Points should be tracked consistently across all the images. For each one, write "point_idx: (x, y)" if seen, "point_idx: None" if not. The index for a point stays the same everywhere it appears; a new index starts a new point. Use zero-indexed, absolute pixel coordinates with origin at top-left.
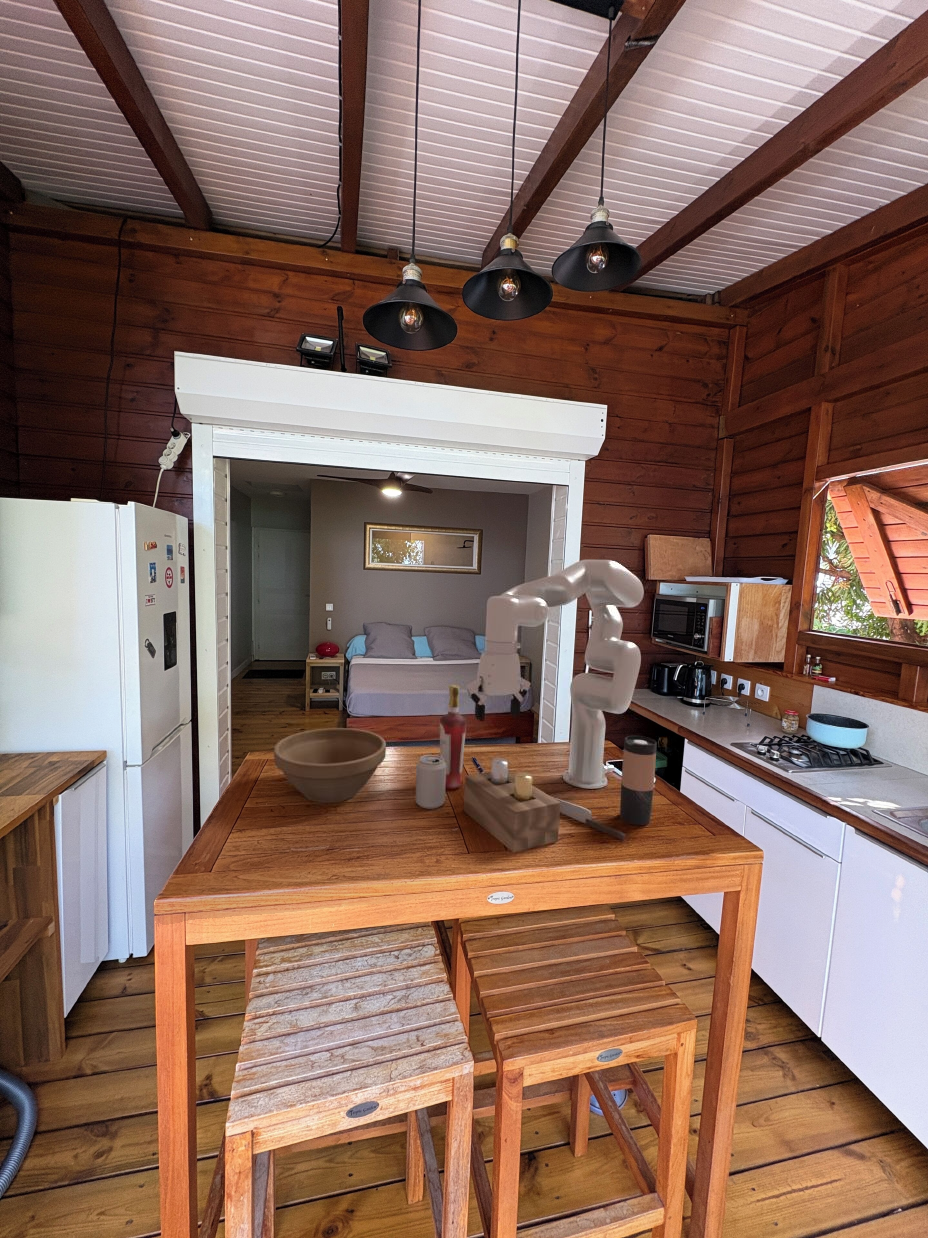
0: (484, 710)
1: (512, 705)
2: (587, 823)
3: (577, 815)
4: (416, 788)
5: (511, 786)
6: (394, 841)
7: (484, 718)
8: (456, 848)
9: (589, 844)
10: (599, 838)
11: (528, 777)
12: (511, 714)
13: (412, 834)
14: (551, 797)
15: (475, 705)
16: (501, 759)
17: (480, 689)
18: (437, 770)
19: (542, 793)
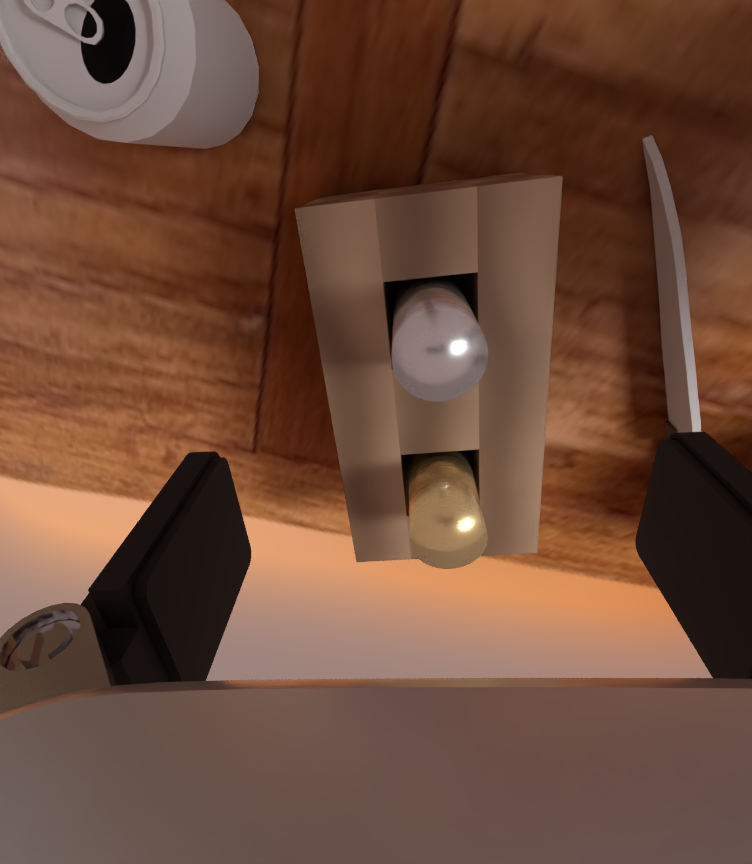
0: (210, 651)
1: (722, 561)
2: (668, 431)
3: (673, 399)
4: (87, 51)
5: None
6: (54, 336)
7: (245, 574)
8: (227, 423)
9: (577, 508)
10: (628, 495)
11: (454, 561)
12: (660, 466)
13: (109, 313)
14: (537, 517)
15: (86, 605)
16: (460, 342)
17: (33, 748)
18: (131, 142)
19: (530, 484)
